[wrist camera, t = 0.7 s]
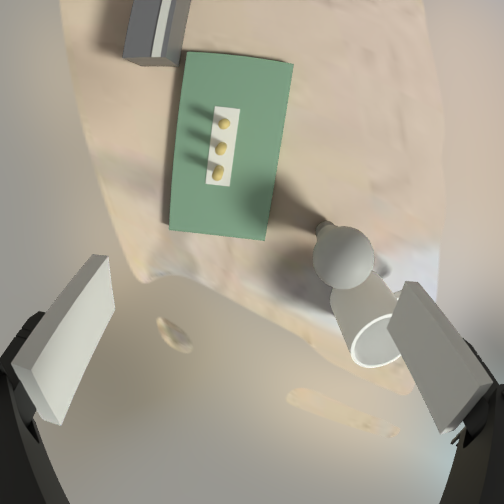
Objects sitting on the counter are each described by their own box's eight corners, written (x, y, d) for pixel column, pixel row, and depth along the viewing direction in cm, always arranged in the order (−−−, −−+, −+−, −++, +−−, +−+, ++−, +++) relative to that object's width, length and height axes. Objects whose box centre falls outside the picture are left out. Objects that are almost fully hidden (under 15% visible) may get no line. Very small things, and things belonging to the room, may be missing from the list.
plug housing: (155, -6, 24) (139, -26, 18) (192, -6, 24) (182, -28, 19) (141, 66, 28) (121, 57, 22) (178, 66, 28) (165, 56, 22)
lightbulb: (297, 252, 38) (316, 303, 28) (300, 203, 35) (324, 241, 25) (344, 251, 38) (377, 299, 28) (350, 204, 36) (389, 241, 26)
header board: (189, 53, 28) (181, 44, 23) (291, 65, 29) (299, 58, 24) (171, 226, 36) (162, 242, 32) (263, 236, 37) (267, 254, 33)
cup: (409, 298, 42) (440, 340, 33) (335, 326, 43) (355, 376, 34) (405, 251, 39) (442, 290, 30) (323, 281, 40) (345, 329, 31)
